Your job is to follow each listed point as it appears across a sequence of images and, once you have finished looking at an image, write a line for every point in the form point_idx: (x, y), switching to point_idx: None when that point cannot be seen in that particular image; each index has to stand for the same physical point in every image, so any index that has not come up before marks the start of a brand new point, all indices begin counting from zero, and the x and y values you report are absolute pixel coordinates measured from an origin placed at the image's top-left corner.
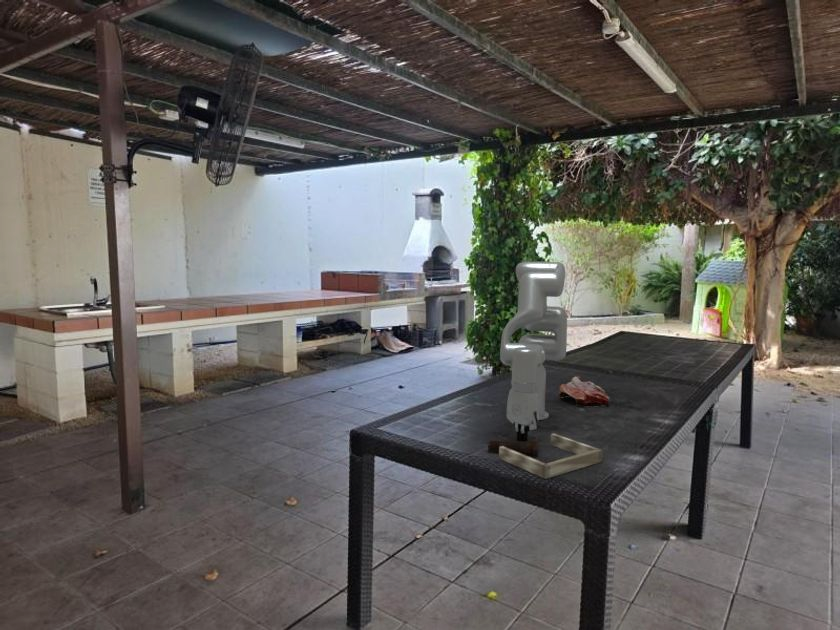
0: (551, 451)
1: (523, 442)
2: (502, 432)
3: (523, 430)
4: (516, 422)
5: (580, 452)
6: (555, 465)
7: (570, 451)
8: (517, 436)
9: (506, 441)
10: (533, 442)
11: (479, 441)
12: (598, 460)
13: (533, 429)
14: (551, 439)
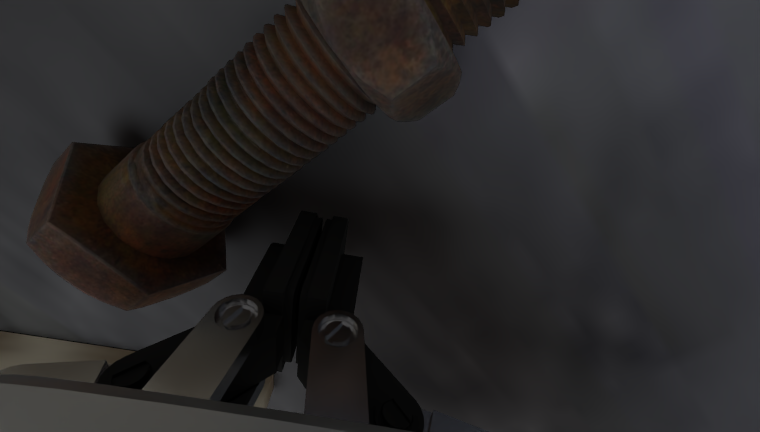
0: (184, 303)
1: (179, 181)
2: (624, 374)
3: (201, 327)
4: (229, 412)
5: (40, 356)
6: None
7: (124, 353)
8: (328, 262)
9: (326, 53)
10: (46, 207)
11: (753, 112)
12: None
13: (4, 370)
14: (257, 404)
